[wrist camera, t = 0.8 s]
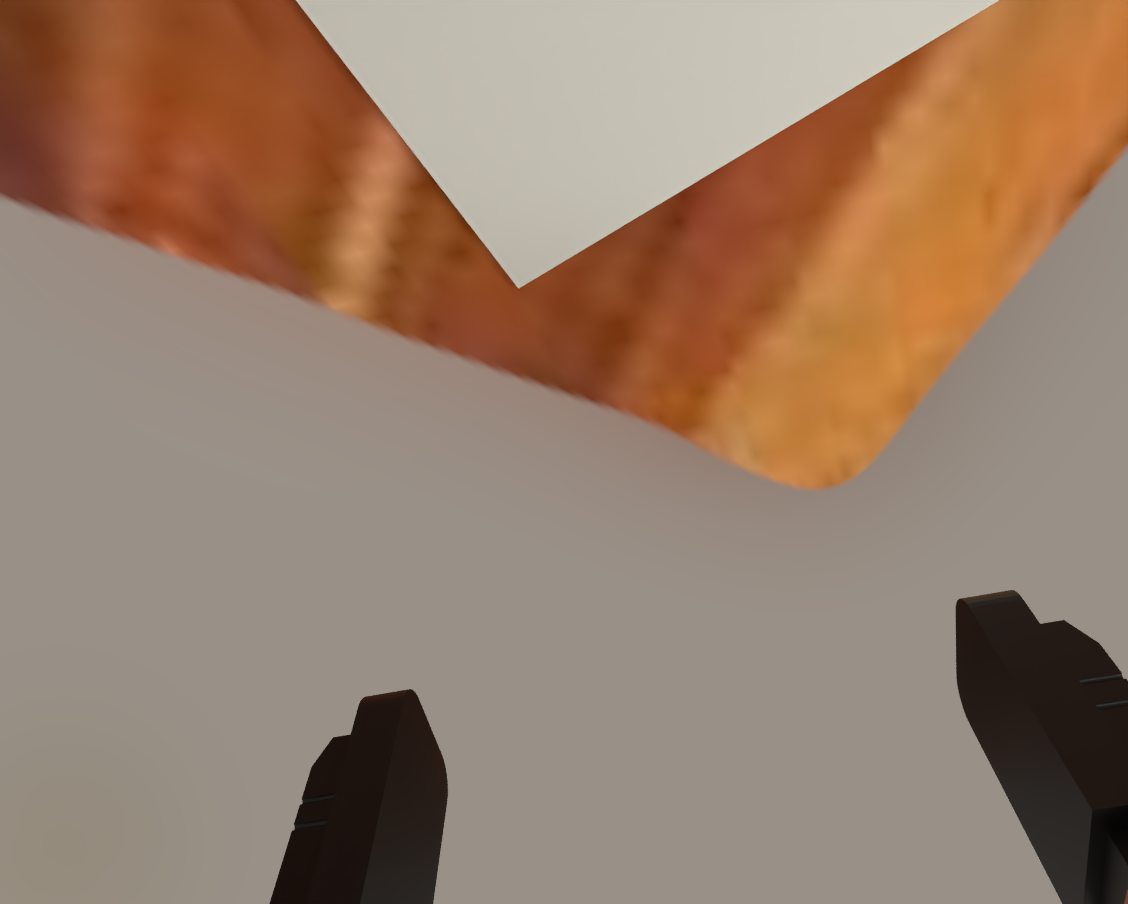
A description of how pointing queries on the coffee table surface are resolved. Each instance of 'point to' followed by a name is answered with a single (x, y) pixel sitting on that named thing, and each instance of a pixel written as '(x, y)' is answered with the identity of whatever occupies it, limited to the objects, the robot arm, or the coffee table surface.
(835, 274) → the coffee table surface
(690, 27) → the dial plate
